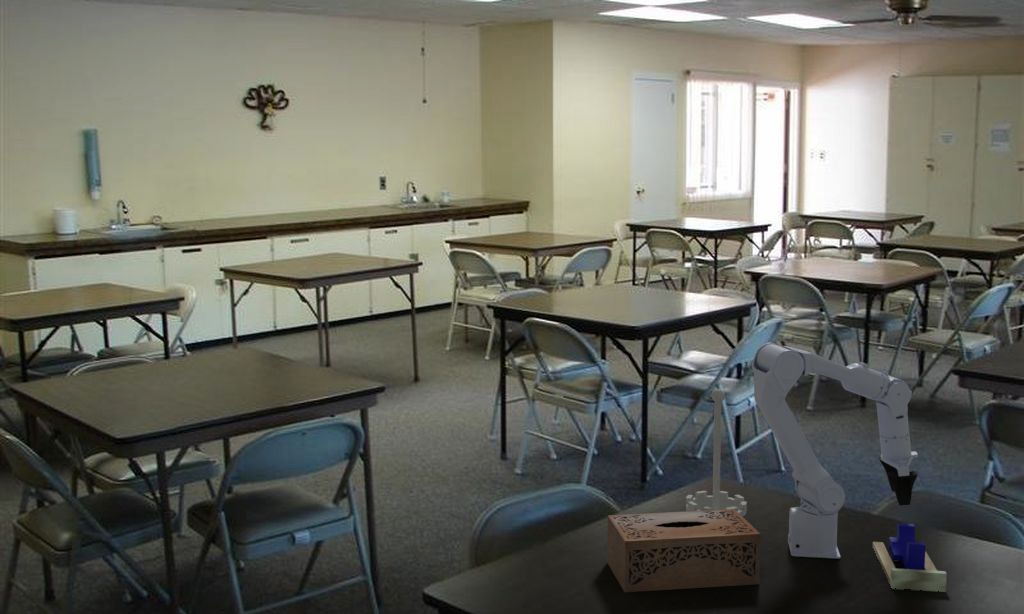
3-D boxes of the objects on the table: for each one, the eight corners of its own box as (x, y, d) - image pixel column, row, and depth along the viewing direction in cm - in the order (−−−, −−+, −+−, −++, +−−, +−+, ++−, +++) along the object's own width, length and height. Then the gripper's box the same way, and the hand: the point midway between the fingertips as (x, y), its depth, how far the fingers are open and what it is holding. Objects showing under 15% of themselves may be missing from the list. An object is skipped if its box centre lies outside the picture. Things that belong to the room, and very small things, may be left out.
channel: (891, 588, 192) (892, 570, 192) (872, 547, 213) (873, 530, 212) (945, 592, 190) (946, 573, 190) (921, 550, 211) (922, 533, 211)
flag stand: (752, 533, 221) (755, 395, 217) (690, 533, 221) (692, 395, 217) (739, 513, 234) (742, 382, 230) (681, 513, 234) (683, 382, 230)
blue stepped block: (888, 551, 211) (889, 522, 210) (912, 552, 210) (913, 524, 210) (899, 573, 199) (900, 543, 199) (924, 575, 199) (925, 545, 198)
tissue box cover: (733, 557, 209) (734, 508, 208) (759, 585, 195) (760, 534, 193) (607, 564, 206) (607, 515, 204) (624, 593, 191) (625, 541, 190)
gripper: (922, 443, 203) (929, 509, 205) (908, 421, 217) (914, 483, 219) (884, 447, 204) (891, 512, 206) (872, 424, 218) (879, 486, 220)
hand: (900, 497), depth 213 cm, fingers open, 7 cm apart
